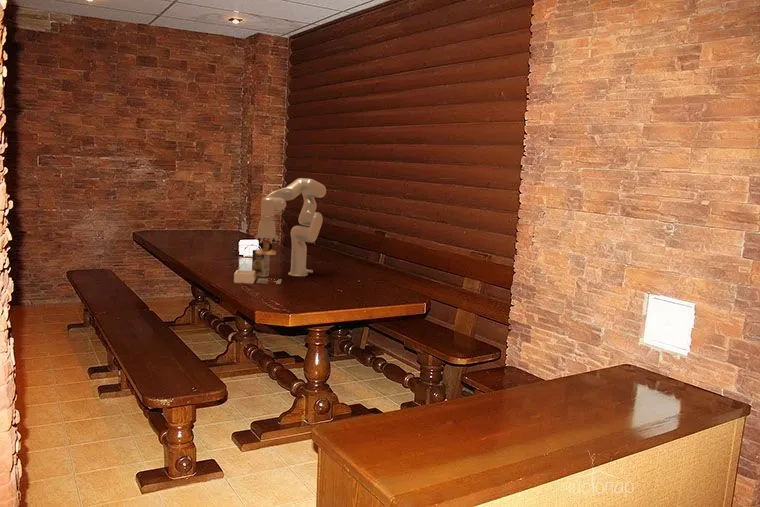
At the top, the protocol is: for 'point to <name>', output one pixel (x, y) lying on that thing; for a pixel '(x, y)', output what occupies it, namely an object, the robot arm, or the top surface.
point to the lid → (266, 250)
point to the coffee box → (260, 264)
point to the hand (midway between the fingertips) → (266, 249)
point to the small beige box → (244, 276)
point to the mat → (268, 280)
